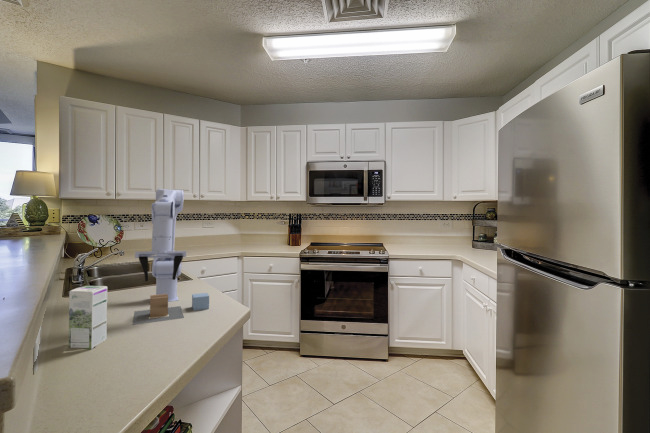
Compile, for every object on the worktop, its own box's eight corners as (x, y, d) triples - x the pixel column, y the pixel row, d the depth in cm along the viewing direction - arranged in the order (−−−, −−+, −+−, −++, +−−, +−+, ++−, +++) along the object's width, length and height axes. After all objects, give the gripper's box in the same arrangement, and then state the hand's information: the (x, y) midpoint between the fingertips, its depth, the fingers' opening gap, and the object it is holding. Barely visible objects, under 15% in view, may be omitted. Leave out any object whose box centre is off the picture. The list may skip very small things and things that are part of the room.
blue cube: (191, 308, 109) (192, 294, 109) (206, 306, 111) (207, 292, 111) (193, 312, 104) (193, 297, 104) (208, 310, 107) (209, 296, 107)
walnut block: (149, 313, 100) (150, 295, 100) (166, 311, 103) (167, 293, 103) (149, 317, 96) (150, 299, 96) (167, 315, 98) (168, 297, 98)
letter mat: (134, 312, 102) (134, 311, 102) (180, 307, 109) (180, 306, 109) (132, 326, 90) (132, 324, 90) (184, 319, 97) (184, 317, 97)
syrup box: (107, 340, 80) (108, 285, 80) (91, 350, 74) (92, 290, 74) (85, 340, 80) (86, 284, 80) (66, 349, 74) (68, 290, 74)
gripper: (135, 236, 92) (133, 282, 90) (187, 236, 99) (186, 279, 97) (136, 238, 98) (134, 281, 96) (185, 238, 105) (184, 278, 103)
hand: (160, 280), depth 97 cm, fingers open, 7 cm apart
